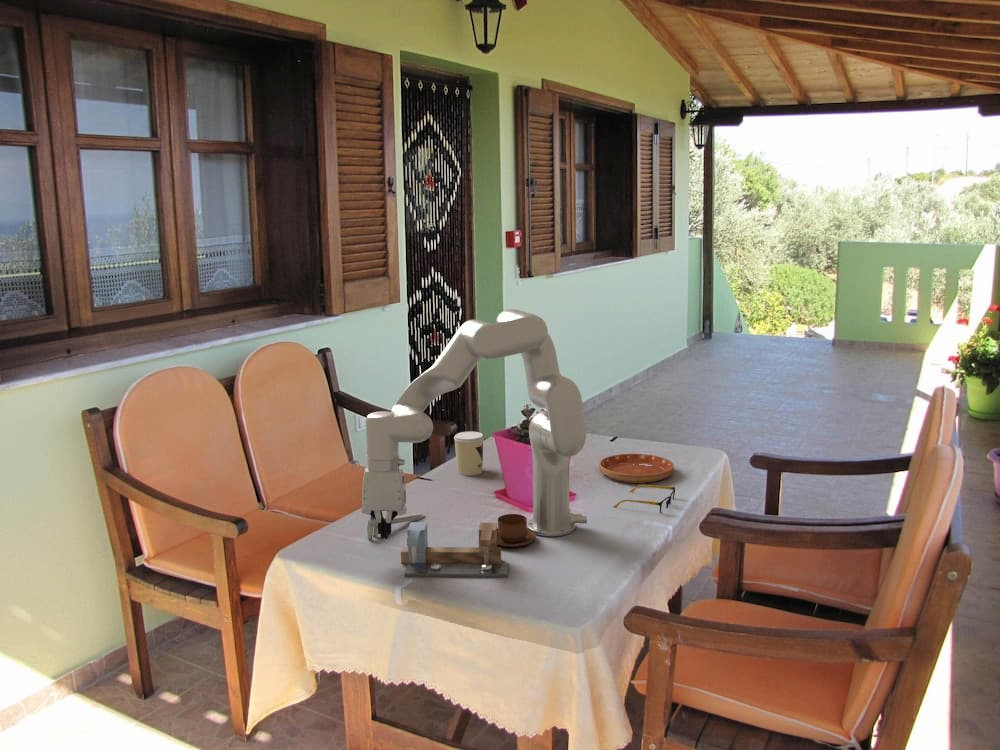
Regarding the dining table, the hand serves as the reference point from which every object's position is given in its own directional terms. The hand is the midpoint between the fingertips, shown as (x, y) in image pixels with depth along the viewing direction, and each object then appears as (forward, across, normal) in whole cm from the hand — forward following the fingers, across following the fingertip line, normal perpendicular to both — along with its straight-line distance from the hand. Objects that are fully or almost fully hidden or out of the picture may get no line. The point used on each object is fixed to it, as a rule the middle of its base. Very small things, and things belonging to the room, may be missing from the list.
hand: (385, 536), depth 224 cm
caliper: (+7, +1, -22) cm, 23 cm away
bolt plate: (+6, -18, +6) cm, 20 cm away
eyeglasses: (+6, -67, -42) cm, 79 cm away
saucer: (+5, -66, -68) cm, 95 cm away
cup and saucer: (+6, -30, -13) cm, 34 cm away
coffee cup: (+6, -14, -70) cm, 72 cm away
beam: (+6, -16, +3) cm, 17 cm away
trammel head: (+6, -8, +3) cm, 10 cm away
